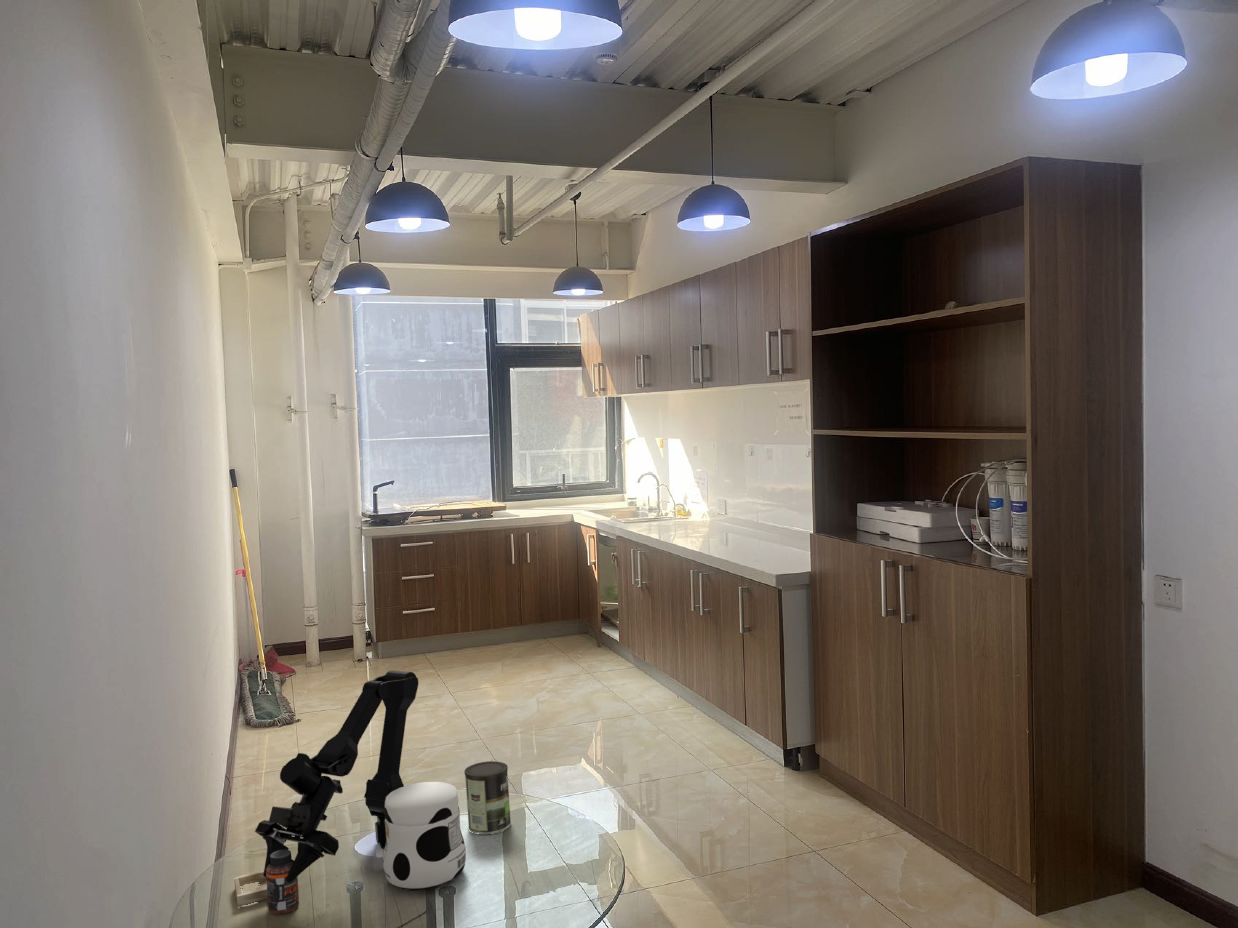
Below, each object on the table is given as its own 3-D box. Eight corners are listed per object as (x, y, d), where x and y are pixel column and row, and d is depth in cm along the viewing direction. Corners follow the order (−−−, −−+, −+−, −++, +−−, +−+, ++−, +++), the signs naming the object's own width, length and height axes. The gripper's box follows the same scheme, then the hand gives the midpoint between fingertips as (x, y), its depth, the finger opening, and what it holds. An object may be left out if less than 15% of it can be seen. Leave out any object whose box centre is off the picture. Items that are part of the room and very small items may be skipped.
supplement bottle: (289, 916, 184) (285, 860, 184) (262, 915, 185) (258, 859, 185) (305, 901, 190) (301, 847, 190) (279, 900, 191) (275, 846, 191)
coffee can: (513, 816, 228) (510, 759, 227) (508, 834, 217) (504, 775, 217) (471, 818, 228) (468, 761, 227) (464, 836, 217) (460, 777, 217)
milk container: (378, 871, 202) (373, 789, 202) (456, 853, 209) (452, 774, 208) (392, 906, 186) (386, 818, 186) (476, 885, 193) (471, 800, 193)
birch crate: (282, 877, 202) (281, 866, 202) (287, 895, 193) (286, 884, 193) (235, 889, 197) (234, 877, 197) (238, 908, 189) (237, 896, 189)
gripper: (258, 782, 195) (218, 856, 185) (324, 793, 186) (286, 871, 177) (290, 804, 202) (252, 877, 193) (355, 816, 194) (319, 893, 184)
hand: (276, 879), depth 186 cm, fingers closed on supplement bottle, 6 cm apart
